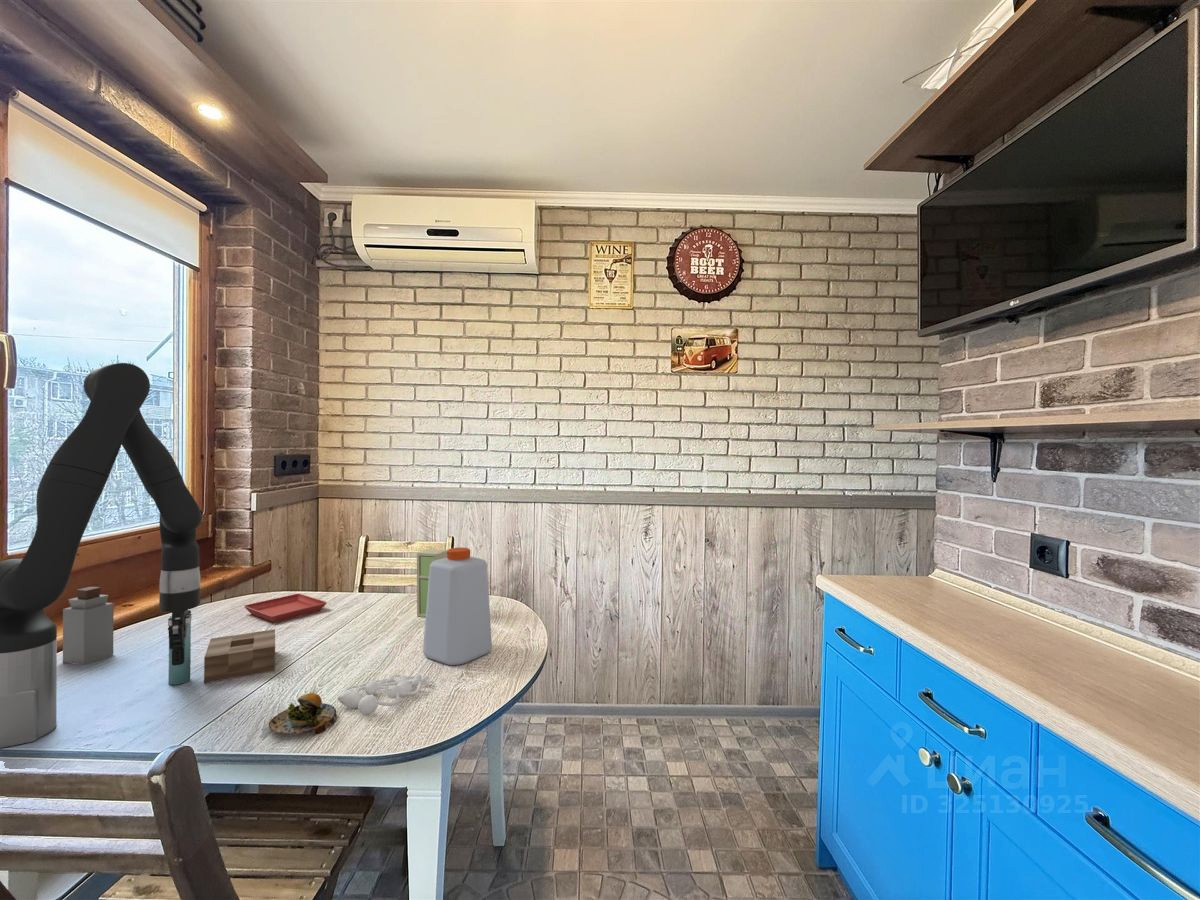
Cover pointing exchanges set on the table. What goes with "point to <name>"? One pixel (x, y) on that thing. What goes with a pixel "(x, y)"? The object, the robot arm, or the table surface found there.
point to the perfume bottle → (88, 627)
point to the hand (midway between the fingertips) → (179, 660)
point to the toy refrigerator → (425, 576)
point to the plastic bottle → (457, 609)
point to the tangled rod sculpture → (369, 701)
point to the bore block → (239, 656)
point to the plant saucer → (285, 607)
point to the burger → (304, 716)
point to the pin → (181, 672)
